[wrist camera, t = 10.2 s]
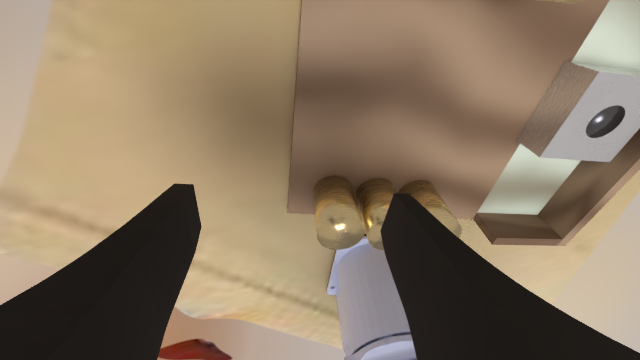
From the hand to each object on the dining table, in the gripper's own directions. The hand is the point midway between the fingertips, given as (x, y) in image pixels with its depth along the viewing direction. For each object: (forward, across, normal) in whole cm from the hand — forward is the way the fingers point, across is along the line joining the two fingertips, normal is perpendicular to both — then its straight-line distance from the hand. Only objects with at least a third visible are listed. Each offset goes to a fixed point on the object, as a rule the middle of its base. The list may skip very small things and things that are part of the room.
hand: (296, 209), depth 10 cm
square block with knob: (+9, -19, -2) cm, 22 cm away
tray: (+10, -12, -1) cm, 16 cm away
